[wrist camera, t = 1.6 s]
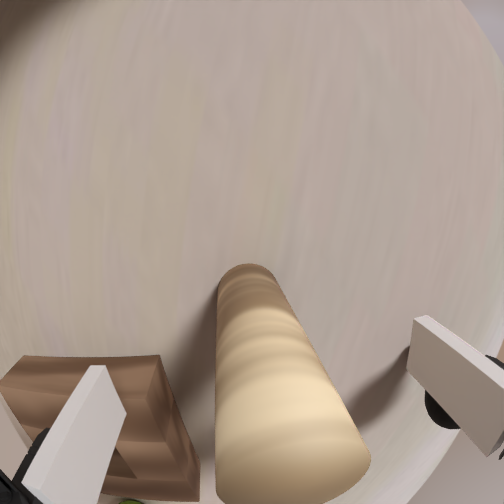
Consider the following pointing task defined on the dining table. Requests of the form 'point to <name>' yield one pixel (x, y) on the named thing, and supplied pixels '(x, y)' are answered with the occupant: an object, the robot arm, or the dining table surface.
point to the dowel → (276, 403)
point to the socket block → (134, 426)
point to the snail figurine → (130, 502)
